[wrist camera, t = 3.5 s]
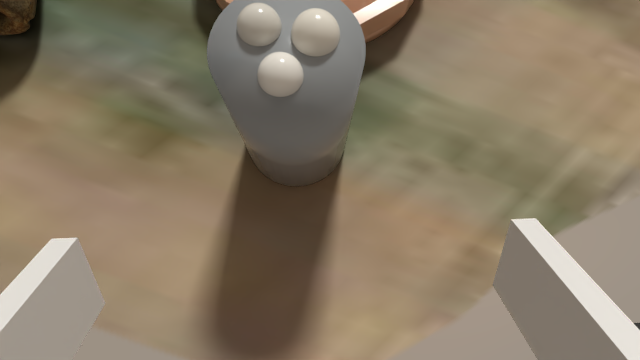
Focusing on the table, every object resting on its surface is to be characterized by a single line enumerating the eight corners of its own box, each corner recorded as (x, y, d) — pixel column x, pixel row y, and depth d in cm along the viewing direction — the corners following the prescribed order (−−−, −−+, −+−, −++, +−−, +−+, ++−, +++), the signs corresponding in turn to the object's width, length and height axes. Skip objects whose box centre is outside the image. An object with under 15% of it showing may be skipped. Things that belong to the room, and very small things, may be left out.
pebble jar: (248, 188, 26) (196, 111, 15) (248, 97, 28) (202, -36, 16) (348, 184, 26) (376, 105, 15) (341, 94, 28) (362, -39, 17)
